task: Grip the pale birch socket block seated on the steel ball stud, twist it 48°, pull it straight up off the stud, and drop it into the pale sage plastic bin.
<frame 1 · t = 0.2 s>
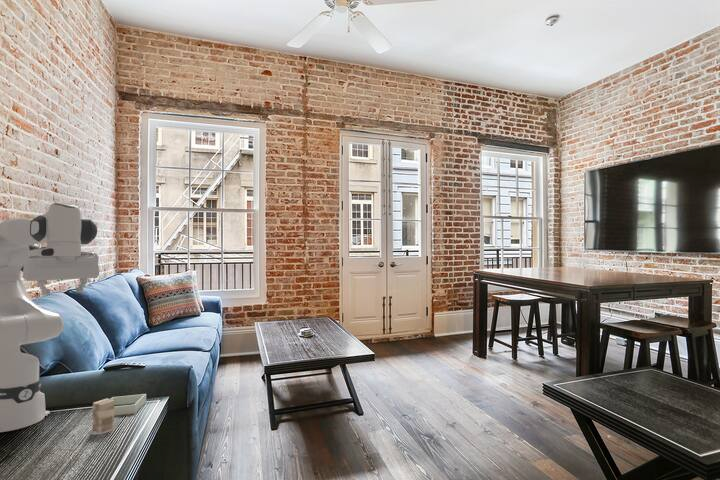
hand: (63, 293, 120), 47 cm above the table, tool pointing down, fingers open, 8 cm apart
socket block: (103, 428, 123), point 1 cm above the table, touching ball stud
bin: (123, 411, 140), on the table
ball stud: (103, 431, 123), on the table
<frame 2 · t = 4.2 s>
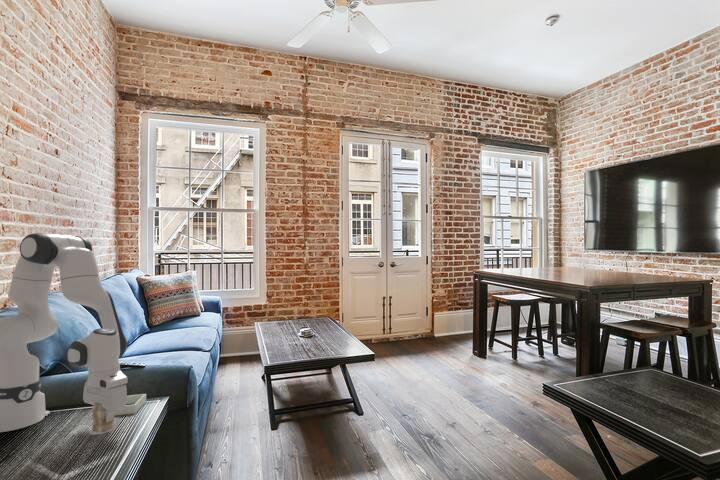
hand: (103, 419, 123), 4 cm above the table, tool pointing down, fingers closed on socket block, 4 cm apart
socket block: (103, 428, 123), point 1 cm above the table, touching ball stud, gripper
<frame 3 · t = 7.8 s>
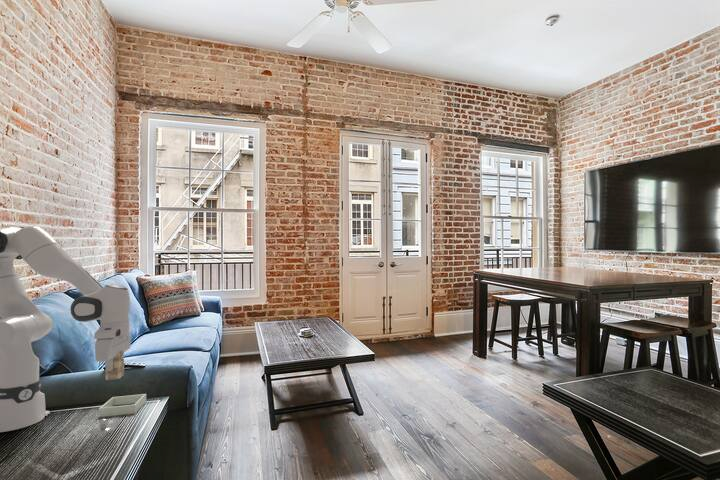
hand: (114, 368, 132), 19 cm above the table, tool pointing down, fingers closed on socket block, 4 cm apart
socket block: (115, 377, 132), point 15 cm above the table, touching gripper
when the fingers open (6 cm above the table, at t = 11.7 s): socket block drops 2 cm, resting on bin.
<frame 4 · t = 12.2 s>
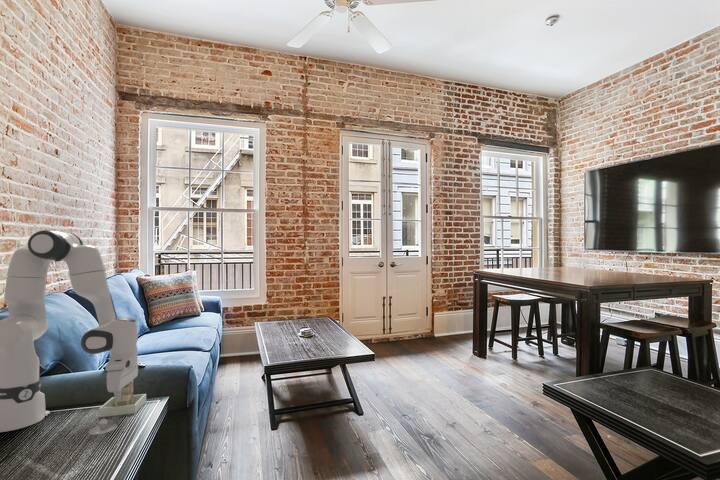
hand: (123, 396, 140), 6 cm above the table, tool pointing down, fingers open, 8 cm apart
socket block: (124, 410, 140), point 1 cm above the table, touching bin
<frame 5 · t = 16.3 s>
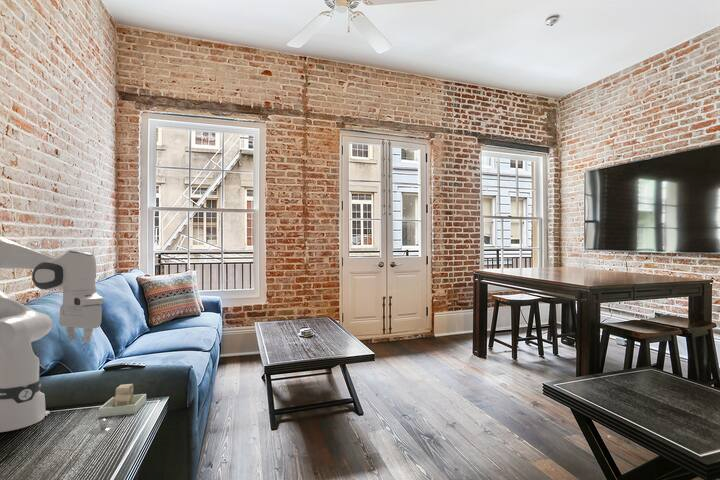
hand: (78, 340, 121), 31 cm above the table, tool pointing down, fingers open, 8 cm apart
nothing on the table moved.
at the end: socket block 0.5 cm from the bin (horizontally); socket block point 0.6 cm above the table; the gripper is holding nothing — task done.
